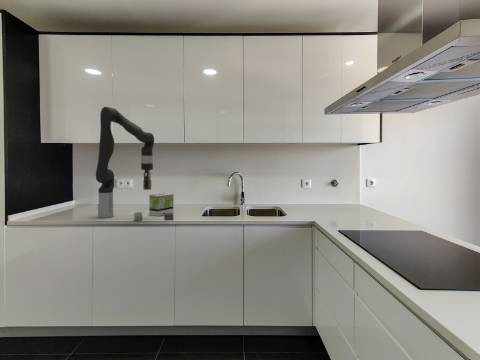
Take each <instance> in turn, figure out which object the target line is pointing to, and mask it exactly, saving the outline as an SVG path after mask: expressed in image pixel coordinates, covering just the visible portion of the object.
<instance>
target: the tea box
mask: <svg viewBox="0 0 480 360" xmlns="http://www.w3.org/2000/svg"><path fill="white" fill-rule="evenodd" d="M148 196H149V205H148V206H149V209H148V211H149V213H148V214H149V216H153V217H161V216H164V213H172V214H174V193H166V192H165V193H156V194H149V195H148Z"/></svg>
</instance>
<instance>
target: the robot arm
mask: <svg viewBox="0 0 480 360" xmlns="http://www.w3.org/2000/svg"><path fill="white" fill-rule="evenodd" d="M99 114H100V115H99V117H100V135H99V136H100V137H99V146H98V157H97V158H98V159H97V164H96V165H97V167H96V171H95V180H96V182H98V183H99V184H101V185H100V187H99V188H98V190H97V191H98V203H97V218H99V219H100V218H102V219H105V218H107V219H108V218H113V217H114V214H115V213H114V189H115V174H114V171H113V170H111V169H109V163H110V160H111V159H112V158H111V157H112V156H113V154H114V151H115V138H114V135H113V133H112V129H111V128H112V125H111V124H112V123H115V124H117V125H119V126H121V127H122V128H123V129H124V130H125V131H126V132H127V133H129V134H130V135H132V136H133V137H135V138H136V139H137V140H138V141H139V142H141V143H143V144H144V145H143V146H142V147H141V148H140V149H141V151H140V152H141V153H140V154H141V155H140V157H141V158H140V169H141V171H144V172H143V181H144V182H145V189H148V188H149V180H151V176H152V175H151V174H152V173H151V171H152V170H154V157H153V148H154V144H155V137H154V134H153V133H152V132H146V131H144V130H143V128H141V127H140V126H139V125H137V124H136V123H134V122H132V121H130V120H129V119H128V118H127V117H126V116H124V115H123V114H122V113H120V111H119V110H118V109H116V108H113V107H110V106H103V107H102V109H101V110H100V113H99Z"/></svg>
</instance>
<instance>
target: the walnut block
mask: <svg viewBox="0 0 480 360" xmlns="http://www.w3.org/2000/svg"><path fill="white" fill-rule="evenodd" d="M142 182H143V187H142V188H143V190H146V191H147V190H148V191H149V190H152V179H150V180H149V188H148V189H145V182H144V180H143V181H142Z"/></svg>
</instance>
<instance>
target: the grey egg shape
mask: <svg viewBox="0 0 480 360" xmlns="http://www.w3.org/2000/svg"><path fill="white" fill-rule="evenodd" d="M133 219H134V221H135V222H142V221H143V212H141V211H140V212H139V211H137V212H133ZM134 221H133V222H134Z"/></svg>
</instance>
